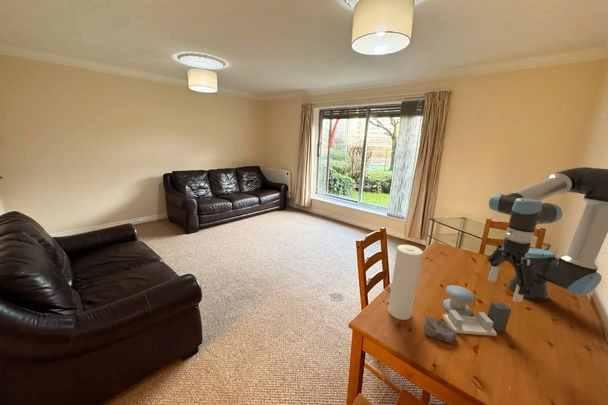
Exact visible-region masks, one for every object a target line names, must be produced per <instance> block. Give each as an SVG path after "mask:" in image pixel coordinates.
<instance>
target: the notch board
mask: <svg viewBox="0 0 608 405" xmlns="http://www.w3.org/2000/svg"><path fill="white" fill-rule="evenodd" d="M442 318H443V319H444V320H445V323H447V326H449V328H451V329H453V330H455V331H456V332H457V334H465V335H466V334H469V335H479V336H483V335H484V336H493V337H494V336H495V337H497V332H496V330H493V328H492V327H493V323H494V322H493V321H492V320H491V319H490V318H489V317H488V314H487V313H485V312H483V311H477V312H476V316H474V315H473V316H472V315H471V316H460V315H459V314H458V313H457V312H456V310H449V312H448V314H447V313H446V314H442Z"/></svg>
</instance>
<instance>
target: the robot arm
mask: <svg viewBox="0 0 608 405" xmlns="http://www.w3.org/2000/svg"><path fill="white" fill-rule="evenodd" d="M566 193H573V194H574V193H575V194H581V195H584V197H583V201H585V202H586V205H585V207H584V210H583V212H582V214H581V217H580V220H579V222H578V224H577V227H576V230H575V232H574V234H573V237H572V239H571V241H570V244H569V246H568V249H567V251H566V254H564V255H561V256H559V258H557V254H556V253H555V252H553V251H550V250H546V249H543V248H542V249H541V248H536V247H535V248H534V247H531V243H532V241H533V238H534V234H535V231H536V226H537V225H544V224H545V225H546V224H552V223H556V222H558V221H560V220H561V219H562V217H563V210H562V208H561V207H560V206H559V205H557V204H555V203H551V202H550V203H549V202H542V201H543V200H545V199H548V198H550V197H552V196H555V195H563V194H566ZM488 207H489V209H490V210H491V211H495V212H497V213H501V214H505V215H508V216H510V218H509V221H508V225H507V228H506V232H505V237H504V239H503V244H498V245H497V247H496V249H495V250H494V252H492V254H491V255H490V256H489V257H488V259H487V262H489V263H490V269H489V275H488V278H487V280H488V281H489V282H496V281H497V279H498V274H499V270H500V265H502V264H503V263H505V262H507V263H509V264H510V265H512V266H511V267H513V268H514V270H515V274H514V276H513V277H512V278H511V279H510V280H509V281H508V285H507V287H508V289H509V290H510V291H511V292H512V293H513V297H512V301H513V302H519V303H520V302H523V298H525V299H528V300H532V301H538V302H545V301H547V300H548V296H549V293H548V285H547V284H548V282H549V283H551V284H553V285H555V286H558V287H559V288H562V289H565V290H566V291H568V292H571V293H574V294H576V295H579V296H586V295H588V294H590V293H592V292H593V291H594V290H595V289H596V288H597V287H598V286H599V284H600V283H601V281H602V278H603V277H602V275H601V274H600V273H599V272H598V270H599V267H598V266H597V264H596V260H597V258H598V255H599V253H600V251H601V248H602V247H603V244H604V242H605V239H606V238H607V235H608V168H598V167H589V166H584V167H582V166H581V167H574V168H569V169H564V170H559V171H557V172H554V173H552V174H549V175H548V176H547V177H546V178H545V179H543V180H539V181H537V182H535V183H533V184H530V185H528V186H525V187H522V188H521V189H518V190H516V191H513V192H510V193H508V194H502V193H501V194H500V193H496V194H493V195H492V196H491V197H490V198H489V200H488Z"/></svg>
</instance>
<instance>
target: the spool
mask: <svg viewBox="0 0 608 405" xmlns="http://www.w3.org/2000/svg"><path fill="white" fill-rule="evenodd" d="M445 293H446V295H447V296H448V297H450V298H446V299H444V300H443V302H442V306H443V309H444V310H446V312H448V313H449V310H456V312H457V313H458V314H459V315H460V316H472V313H473V312H472V308H471V307H470V306H469V305H468V304H471V303H474V302H475V300H476V295H475V294H474V293H473V291H471V290H469V289H467V288H465V287H463V286H460V285H453V284H451V285H448V286H446V287H445Z"/></svg>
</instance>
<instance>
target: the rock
mask: <svg viewBox="0 0 608 405" xmlns="http://www.w3.org/2000/svg"><path fill="white" fill-rule="evenodd" d="M446 323H447V322H444V321H443V320H442V319H440V318H435V317H431V316H425V317H424V320H423V328H424V329H423V331H424V333H425V335H426V336H428V337H430V338H434V339H436V340H439V341H442V342H446V343H449V344H450V343H452V342H453V341H454V342H455V341H456V339H457V334H458V333H457V332H456V331H455V330H453V329H451V327H450V326H449V325H448V324H446Z"/></svg>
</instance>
